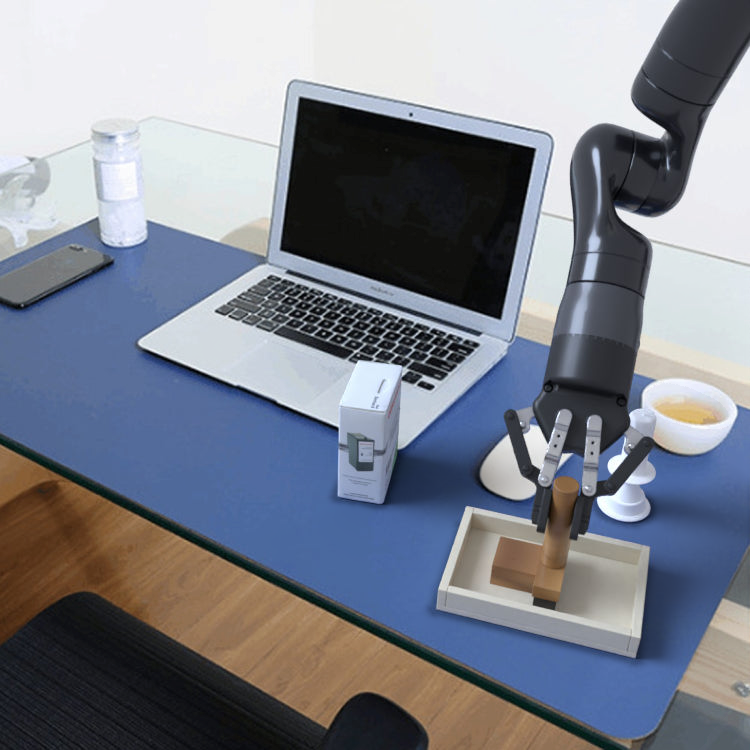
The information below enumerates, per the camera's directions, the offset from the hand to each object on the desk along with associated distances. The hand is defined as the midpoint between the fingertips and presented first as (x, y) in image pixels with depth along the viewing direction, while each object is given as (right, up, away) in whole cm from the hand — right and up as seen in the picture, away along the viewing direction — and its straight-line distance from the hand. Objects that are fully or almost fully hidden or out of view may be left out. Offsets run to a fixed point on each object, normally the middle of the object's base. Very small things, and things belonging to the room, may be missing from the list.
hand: (557, 535), depth 86 cm
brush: (0, -5, +6) cm, 8 cm away
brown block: (-3, -5, +7) cm, 9 cm away
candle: (+10, 0, +17) cm, 19 cm away
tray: (0, -6, +7) cm, 9 cm away
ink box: (-16, +3, +19) cm, 25 cm away
